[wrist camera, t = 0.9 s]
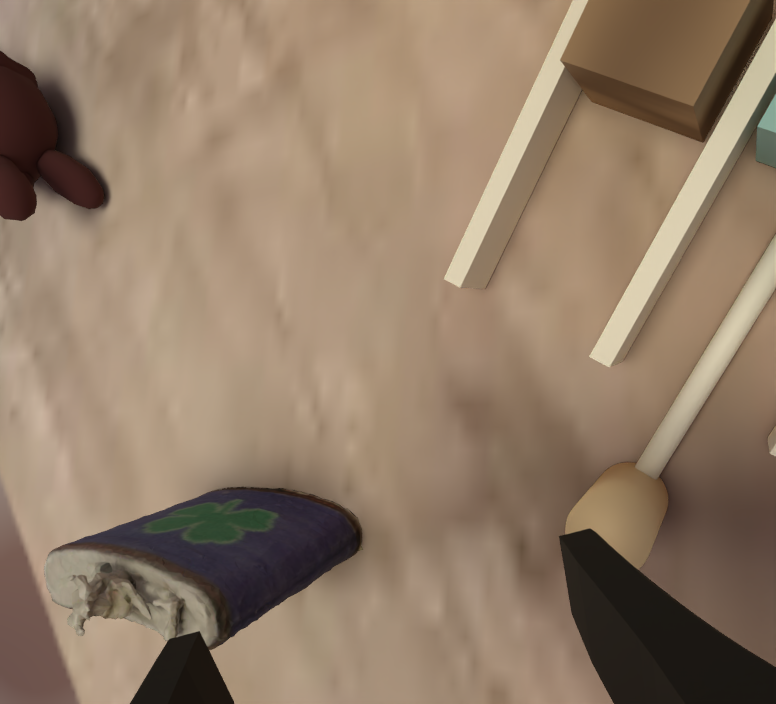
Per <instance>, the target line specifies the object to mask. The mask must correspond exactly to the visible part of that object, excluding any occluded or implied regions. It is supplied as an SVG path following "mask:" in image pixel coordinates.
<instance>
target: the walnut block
mask: <svg viewBox="0 0 776 704" xmlns="http://www.w3.org/2000/svg"><path fill="white" fill-rule="evenodd" d="M772 11H773V0H588V2H587V4H586V6H585V8H584V10H583V12H582V14H581V17H580V19H579V21H578V23H577V25H576V27H575V29H574V31H573V34H572V36H571V38H570V40H569V42H568V44H567V46H566V48H565V51H564V53H563V55H562V57H561V59H560V61H561V62H562V63H563V65H564V66H565V67H566V69H567V70H568V71H569V73H570V74H571V75H572V77H573V78H574V79H575V80H576V82H577V83H578V84H579V86H580V87H581V88H582V90H583V91H584V92H585V94H586V95H587V96H588V98H589V99H590V100H591V101H592V102H594V103H596V104H599V105H602V106H605V107H607V108H610V109H613V110H616V111H618V112H621V113H624V114H626V115H629V116H632V117H635V118H637V119H640V120H643V121H646V122H648V123H651V124H654V125H656V126H659V127H662V128H665V129H667V130H670V131H673V132H676V133H678V134H681V135H684V136H686V137H689V138H692V139H695V140H697V141H700V142H704V140H705V138H706V136H707V135H708V133H709V131H710V129H711V127H712V126H713V124H714V122H715V120H716V118H717V116H718V115H719V113H720V111H721V109H722V107H723V106H724V104H725V102H726V100H727V98H728V96H729V95H730V93H731V91H732V89H733V87H734V86H735V84H736V82H737V80H738V78H739V76H740V75H741V73H742V71H743V69H744V67H745V66H746V64H747V62H748V60H749V58H750V57H751V55H752V53H753V51H754V49H755V47H756V46H757V44H758V42H759V40H760V38H761V37H762V35H763V33H764V31H765V29H766V27H767V26H768V24H769V22H770V20H771V18H772Z"/></svg>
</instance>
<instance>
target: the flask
mask: <svg viewBox="0 0 776 704" xmlns="http://www.w3.org/2000/svg"><path fill="white" fill-rule="evenodd" d="M361 538H362V528H361V526H360V524H359V521H358V518H357V517H355V516H354V515H353V514H352V513H351V512H350V511H349V510H348V509H345V508H343V507H341V506H340V505H338V504H336V503H334V502H332V501H328V500H324V499H321V498H318V497H315V495H311V494H309V495H307V494H304V493H303V492H298V491H295V490H293V491H289V490H286V489H280V488H279V489H271V490H270V489H268V488H261V489H260V488H252V487H251V488H246V487H245V488H244V487H241V488H240V487H237V488H227V489H222V490H216V491H211V492H208V493H206V494H203V495H201V496H199V497H198V498H195V499H192V500H189V501H186V502H183V503H180V504H177V505H174V506H172V507H169V508H167V509H165V510H162V511H159V512H156V513H154V514H151V515H148V516H143V517H141V518H139V519H137V520H134V521H131V522H128V523H125V524H122V525H119V526H116V527H114V528H112V529H109V530H107V531H104V532H101V533H98V534H95V535H92V536H87V537H84V538H82V539H79V540H77V541H75V542H71V543H68V544H65V545H62V546H60V547H58V548H56V549H54V550H52V551H51V552H50V553H49V555H48V557H47V560H46V563H45V566H44V575H45V579H46V584H47V589H48V590H49V592H50V593H51V597H52V600H53V601H54V602H55V603H57V604H58V605H61V606H63V607H66V608H69V609H73V613H72V614H71V615H70V616H69V617H68V619H67V620H68V625H69V626H71V627H72V628H74V629H75V630H76V633H77V635H78V636H83V635H84V632H85V630H84V629H83V624H84V622H85V620H86V619H87V620H90V617H92V616H102V617H103V618H105V619H106V618H111V619H117V618H120V619H122V618H125V619H127V620H129V621H131V622H136V623H139V624H141V625H144V626H145V627H146V628H150V629H153V630H155V631H157V632H158V633H160V634H161V635H162V636H163V637H164V640H165V641H168V640H169V639H171V638H175V637H179V636H182V635H186V634H190V633H194V632H198V631H200V633H201V635H202V637H203V639H204V641H205V643H206V645H207V647H208V649H209V650H212V649H214V648H216V647H217V646H219V645H222V644H223V643H224V642H225V641H226V640H228V639H229V638H230V637H233V636H234V635H235V634H236V633H237V632H238V631H239V630H241V629H243V628H245V627H247V626H248V625H249V624H251V623H252V622H253V621H256V620H258V619H259V618H260V617H261V616H262V615H263V614H265V613H266V612H268V611H269V610H270V609H272V608H274V607H275V606H277V605H279V604H280V603H281V602H283V601H284V600H286V599H287V598H288V597H290V596H292V595H294V594H296V593H298V592H300V591H301V590H303V589H305V588H306V587H308V586H309V585H310V584H311V583H312V582H313V581H315V580H316V579H317V578H319V577H320V576H321V575H323V574H324V573H326V572H328V571H329V570H331V569H332V568H333V567H334V566H336V565H338V564H340V563H341V562H343V561H345V560H347V559H349V558H350V557H352V556H354V555H355V554H356V552H357V551H360V550H363V549H362V546H361Z"/></svg>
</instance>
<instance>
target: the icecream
mask: <svg viewBox="0 0 776 704" xmlns="http://www.w3.org/2000/svg"><path fill="white" fill-rule="evenodd" d="M57 138H58V129H57V122H56V119H55V117H54V115H53V113H52V111H51V110H50V108H49V106H48V104H47V102H46V100H45V98H44V96H43V95H42V93H41V91H40V90H39V89H38V86H37V81H36V78H35V75H34V74H33V73H32V72H31V71H30V70H29V69H28V68H27V67H25V66H23V65H21V64H19V63H17V62H15V61H13V60H12V59H10V58H9V57H8V56H6V55H5V54H4V53H3V52H1V51H0V216H2V217H3V218H4V219H10V220H19V221H23V220H26V219H27V218H28V217H30V216H31V215H32V214H34V213H35V209H36V205H37V200H36V194H35V191H34V189H33V186H34V182H35V181H36V180H37V179H38V178H39V177H40V176H41V177H42V178H43V179H44V180H45V181H46V182H47V183H48V184H49V185H50V186H51V187H52V189H53V190H54V191H55V192H57V193H58V194H60V195H61V196H63V197H64V198H66V199H67V200H69V201H71V202H72V203H74V204H76V205H79V206H82V207H85V208H88V209H94V208H98V207H99V206H100V205H101V204H103V200H104V191H103V189H102V187H101V185H100V184H99V182H98V181H97V180H96V178H95V177H94V175H93V174H92V173H91V171H90V170H89V169H88V168H87V167H85V166H84V165H82V164H81V163H79V162H78V161H76V160H75V159H73V158H72V157H70V156H68V155H66V154H63V153H60V152H58V151H55V147H56V142H57Z"/></svg>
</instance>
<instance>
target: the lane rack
mask: <svg viewBox="0 0 776 704" xmlns="http://www.w3.org/2000/svg"><path fill="white" fill-rule="evenodd" d="M587 2H588V0H573V1H572V4H571V6H570V8H569V10H568V12H567V14H566V17H565V19H564V21H563V23H562V25H561V27H560V29H559V32H558V34H557V36H556V38H555V40H554V42H553V45H552V47H551V49H550V51H549V53H548V55H547V57H546V60H545V62H544V64H543V66H542V68H541V70H540V73H539V75H538V77H537V79H536V81H535V83H534V86H533V88H532V90H531V92H530V94H529V96H528V98H527V101H526V103H525V105H524V107H523V109H522V111H521V114H520V116H519V118H518V120H517V122H516V124H515V126H514V129H513V131H512V133H511V135H510V137H509V139H508V142H507V144H506V146H505V148H504V150H503V152H502V155H501V157H500V159H499V161H498V163H497V165H496V167H495V170H494V172H493V174H492V176H491V178H490V180H489V183H488V185H487V187H486V189H485V191H484V193H483V196H482V198H481V200H480V202H479V204H478V206H477V208H476V211H475V213H474V215H473V217H472V219H471V221H470V224H469V226H468V228H467V230H466V232H465V234H464V236H463V239H462V241H461V243H460V245H459V247H458V249H457V252H456V254H455V256H454V258H453V260H452V262H451V265H450V267H449V269H448V271H447V273H446V275H445V277H444V279H445V280H447V281H449V282H450V283H452V284H454V285H456V286H458V287H460V288H474V289H486V286H487V284H488V282H489V280H490V278H491V276H492V274H493V272H494V270H495V268H496V266H497V264H498V262H499V260H500V258H501V256H502V253H503V251H504V249H505V247H506V245H507V243H508V241H509V239H510V237H511V235H512V233H513V231H514V229H515V227H516V225H517V223H518V221H519V218H520V216H521V214H522V212H523V210H524V208H525V206H526V204H527V202H528V200H529V198H530V196H531V194H532V192H533V190H534V188H535V185H536V183H537V181H538V179H539V177H540V175H541V173H542V171H543V169H544V167H545V165H546V163H547V161H548V159H549V157H550V155H551V153H552V150H553V148H554V146H555V144H556V142H557V140H558V138H559V136H560V134H561V132H562V130H563V128H564V126H565V124H566V122H567V120H568V117H569V115H570V113H571V111H572V109H573V107H574V105H575V103H576V101H577V99H578V97H579V95H580V93H581V91H582V88H581V87H580V86H579V84H578V83H577V82H576V80H575V79H574V78H573V77H572V75H571V74H570V73H569V71H568V70H567V69H566V67H565V66H564V65H563V63H562V62H561V61H560V59H561V57H562V55H563V53H564V51H565V48H566V46H567V44H568V42H569V40H570V38H571V36H572V34H573V31H574V29H575V27H576V25H577V23H578V21H579V19H580V17H581V14H582V12H583V10H584V8H585V6H586V4H587ZM775 93H776V19H775V21H774V23H773V25H772V27H771V28H770V30H769V32H768V34H767V36H766V38H765V39H764V41H763V43H762V45H761V47H760V48H759V50H758V52H757V54H756V56H755V57H754V59H753V61H752V63H751V65H750V67H749V68H748V70H747V72H746V74H745V76H744V77H743V79H742V81H741V83H740V85H739V86H738V88H737V90H736V92H735V94H734V96H733V97H732V99H731V101H730V103H729V105H728V106H727V108H726V110H725V112H724V114H723V115H722V117H721V119H720V121H719V123H718V125H717V126H716V128H715V130H714V132H713V134H712V135H711V137H710V139H709V141H708V143H707V144H706V146H705V148H704V150H703V152H702V154H701V155H700V157H699V159H698V161H697V163H696V164H695V166H694V168H693V170H692V172H691V173H690V175H689V177H688V179H687V181H686V183H685V184H684V186H683V188H682V190H681V192H680V193H679V195H678V197H677V199H676V201H675V202H674V204H673V206H672V208H671V210H670V211H669V213H668V215H667V217H666V219H665V221H664V222H663V224H662V226H661V228H660V230H659V231H658V233H657V235H656V237H655V239H654V240H653V242H652V244H651V246H650V248H649V250H648V251H647V253H646V255H645V257H644V259H643V260H642V262H641V264H640V266H639V268H638V269H637V271H636V273H635V275H634V277H633V279H632V280H631V282H630V284H629V286H628V288H627V289H626V291H625V293H624V295H623V297H622V298H621V300H620V302H619V304H618V306H617V308H616V309H615V311H614V313H613V315H612V317H611V318H610V320H609V322H608V324H607V326H606V327H605V329H604V331H603V333H602V335H601V337H600V338H599V340H598V342H597V344H596V346H595V347H594V349H593V351H592V353H591V355H590V356H589V357H591V358H592V359H594V360H596V361H598V362H600V363H602V364H604V365H606V366H607V367H612V366H614V365H616V364H618V363H621V362H623V360H624V358H625V357H626V355H627V353H628V351H629V349H630V348H631V346H632V344H633V342H634V341H635V339H636V337H637V335H638V334H639V332H640V330H641V328H642V327H643V325H644V323H645V321H646V320H647V318H648V316H649V314H650V313H651V311H652V309H653V307H654V306H655V304H656V302H657V300H658V299H659V297H660V295H661V293H662V292H663V290H664V288H665V286H666V284H667V283H668V281H669V279H670V277H671V276H672V274H673V272H674V270H675V269H676V267H677V265H678V263H679V262H680V260H681V258H682V256H683V255H684V253H685V251H686V249H687V248H688V246H689V244H690V242H691V241H692V239H693V237H694V235H695V234H696V232H697V230H698V228H699V227H700V225H701V223H702V221H703V219H704V218H705V216H706V214H707V212H708V211H709V209H710V207H711V205H712V204H713V202H714V200H715V198H716V197H717V195H718V193H719V191H720V190H721V188H722V186H723V184H724V183H725V181H726V179H727V177H728V176H729V174H730V172H731V170H732V169H733V167H734V165H735V163H736V162H737V160H738V158H739V156H740V154H741V153H742V151H743V149H744V147H745V146H746V144H747V142H748V140H749V139H750V137H751V135H752V133H753V132H754V130H755V128H756V126H757V125H758V123H759V121H760V119H761V118H762V116H763V114H764V112H765V111H766V109H767V107H768V105H769V104H770V102H771V100H772V98H773V97H774V95H775ZM767 439H768V446H769V453H770V454H772V455H774V456H776V426H775V427H774V429H773V430H772V432H771V433H770V435H769V436H768V438H767Z"/></svg>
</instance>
